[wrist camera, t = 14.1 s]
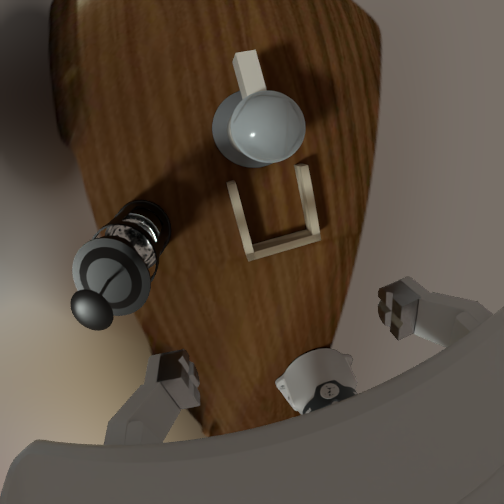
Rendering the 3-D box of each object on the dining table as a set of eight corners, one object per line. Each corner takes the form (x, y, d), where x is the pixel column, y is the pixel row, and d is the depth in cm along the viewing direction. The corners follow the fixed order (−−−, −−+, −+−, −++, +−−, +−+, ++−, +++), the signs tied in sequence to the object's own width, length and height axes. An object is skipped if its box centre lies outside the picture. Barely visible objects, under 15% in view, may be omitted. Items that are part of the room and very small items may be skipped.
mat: (300, 157, 40) (301, 157, 40) (223, 176, 40) (224, 176, 39) (282, 83, 36) (283, 82, 35) (203, 100, 35) (203, 99, 34)
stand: (314, 233, 46) (321, 240, 43) (245, 253, 45) (248, 261, 42) (301, 163, 41) (307, 165, 38) (225, 182, 40) (227, 185, 38)
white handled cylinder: (288, 150, 39) (311, 154, 30) (233, 164, 39) (241, 170, 30) (266, 63, 33) (283, 41, 24) (209, 74, 33) (210, 53, 24)
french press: (168, 193, 40) (128, 251, 19) (180, 251, 43) (162, 350, 22) (99, 208, 38) (18, 274, 17) (114, 262, 42) (59, 356, 21)
